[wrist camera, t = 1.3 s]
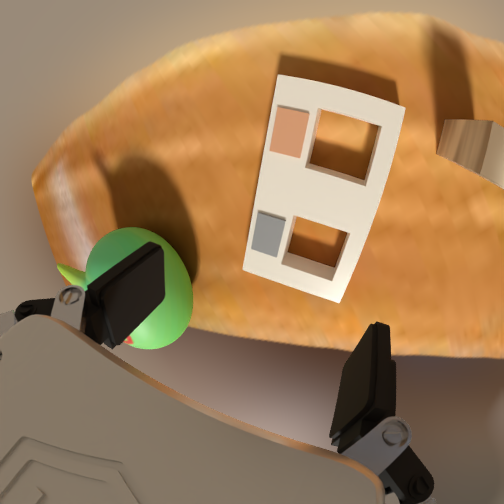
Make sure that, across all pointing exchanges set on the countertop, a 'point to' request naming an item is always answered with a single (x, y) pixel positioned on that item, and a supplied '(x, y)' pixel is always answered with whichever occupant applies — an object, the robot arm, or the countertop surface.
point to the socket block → (316, 185)
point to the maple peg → (475, 147)
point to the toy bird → (176, 285)
